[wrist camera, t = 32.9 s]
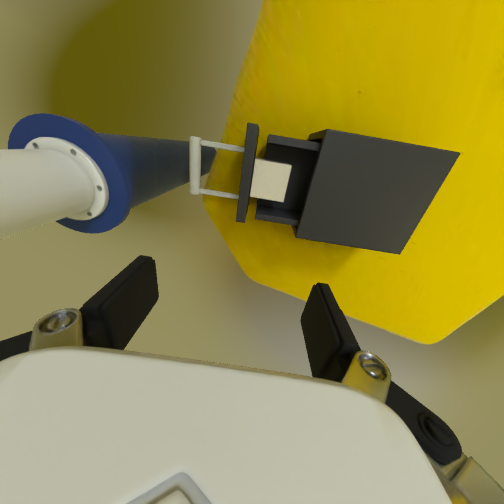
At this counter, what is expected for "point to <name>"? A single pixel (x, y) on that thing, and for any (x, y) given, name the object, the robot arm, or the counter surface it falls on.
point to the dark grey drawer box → (370, 190)
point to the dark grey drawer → (277, 149)
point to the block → (270, 179)
